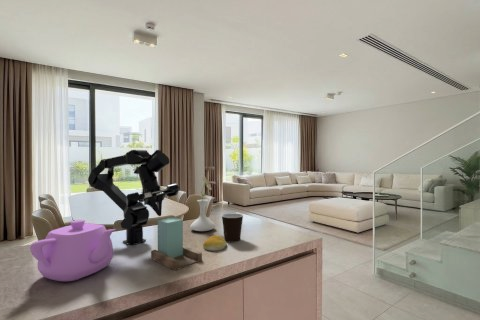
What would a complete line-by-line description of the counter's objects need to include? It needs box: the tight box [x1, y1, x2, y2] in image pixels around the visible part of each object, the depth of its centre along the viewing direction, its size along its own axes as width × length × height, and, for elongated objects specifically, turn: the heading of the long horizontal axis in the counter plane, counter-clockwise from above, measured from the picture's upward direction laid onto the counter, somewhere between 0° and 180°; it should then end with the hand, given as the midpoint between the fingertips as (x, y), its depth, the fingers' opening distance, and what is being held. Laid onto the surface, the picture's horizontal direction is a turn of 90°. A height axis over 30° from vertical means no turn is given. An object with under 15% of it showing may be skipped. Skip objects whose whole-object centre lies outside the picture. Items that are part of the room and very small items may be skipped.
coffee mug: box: [221, 212, 244, 243], centre depth 108 cm, size 12×9×10 cm
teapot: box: [29, 219, 116, 282], centre depth 74 cm, size 23×21×15 cm
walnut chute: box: [150, 245, 203, 271], centre depth 86 cm, size 14×10×2 cm
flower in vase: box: [190, 175, 216, 232], centre depth 122 cm, size 13×11×25 cm
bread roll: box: [202, 234, 227, 252], centre depth 98 cm, size 8×9×4 cm
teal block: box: [157, 216, 184, 258], centre depth 88 cm, size 6×6×12 cm
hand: (160, 215), depth 94 cm, fingers closed
